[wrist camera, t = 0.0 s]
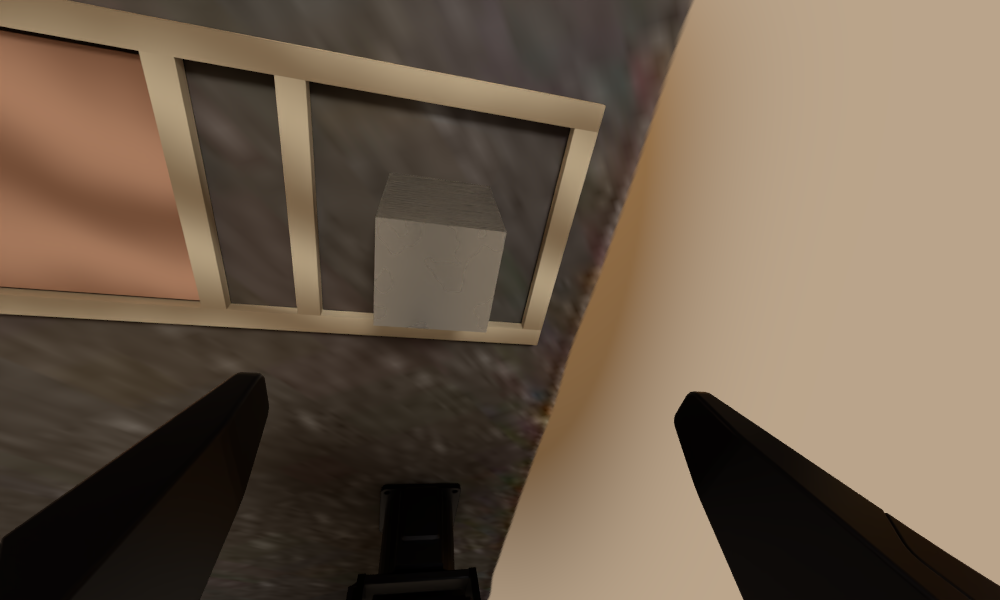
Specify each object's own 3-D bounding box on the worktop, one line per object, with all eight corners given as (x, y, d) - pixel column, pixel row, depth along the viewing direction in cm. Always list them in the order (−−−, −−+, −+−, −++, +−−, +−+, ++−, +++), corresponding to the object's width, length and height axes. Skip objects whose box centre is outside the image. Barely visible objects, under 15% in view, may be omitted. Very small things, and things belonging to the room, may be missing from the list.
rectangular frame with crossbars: (535, 339, 27) (537, 344, 26) (-86, 301, 20) (-99, 308, 20) (601, 104, 19) (605, 105, 19) (-346, -81, 13) (-378, -85, 12)
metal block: (475, 270, 24) (486, 332, 19) (387, 261, 23) (373, 325, 18) (489, 185, 21) (506, 232, 16) (390, 172, 20) (375, 217, 15)
